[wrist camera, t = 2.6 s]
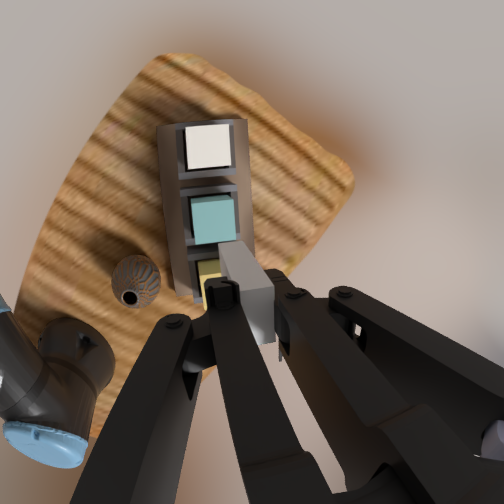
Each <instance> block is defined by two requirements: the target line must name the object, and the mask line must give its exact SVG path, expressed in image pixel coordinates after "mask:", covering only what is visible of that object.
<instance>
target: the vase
mask: <svg viewBox="0 0 504 504" xmlns="http://www.w3.org/2000/svg"><path fill="white" fill-rule="evenodd" d="M111 284H112V290H113V293H114V295H115V297H116V298H117V300H118V301H119V302H120V303H122V304H123V305H125V306H127V307H129V308H142V307H145V306H147V305H149V304H150V303H151V302H152V301H153V300H154V299H155V298H156V297H157V295H158V293H159V290H160V286H161V276H160V272H159V269H158V267H157V266H156V264H155V263H154V262H153V261H152V260H151V259H149V258H148V257H146V256H143V255H130V256H128V257H125V258H124V259H122V260H121V261H120V262H119V263H118V264H117V266H116V267H115V269H114V271H113V274H112V280H111Z"/></svg>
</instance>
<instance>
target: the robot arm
mask: <svg viewBox="0 0 504 504" xmlns="http://www.w3.org/2000/svg"><path fill="white" fill-rule="evenodd" d="M218 248H219V258H220V267H221V277H215V278H208V279H206V281H205V282H204V290H205V297H206V304H207V311H206V313H205V314H203V315H202V316H201V317H199V318H196V319H194V320H191V319H190V317H189V316H187V315H185V314H170V315H166V316H165V317H163V318H161V319H160V320H159V321H158V322H157V324H156V325H155V327H154V329H153V331H152V333H151V334H150V336H149V338H148V340H147V342H146V344H145V345H144V347H143V349H142V351H141V353H140V355H139V357H138V358H137V360H136V362H135V364H134V366H133V368H132V370H131V372H130V374H129V376H128V378H127V379H126V381H125V383H124V385H123V387H122V389H121V391H120V393H119V395H118V397H117V399H116V401H115V403H114V405H113V407H112V409H111V411H110V413H109V415H108V417H107V420H106V422H105V424H104V426H103V428H102V430H101V432H100V434H99V436H98V439H97V441H96V443H95V446H94V447H93V450H92V452H91V454H90V456H89V458H88V461H87V463H86V465H85V467H84V470H83V472H82V474H81V477H80V479H79V482H78V484H77V486H76V489H75V491H74V494H73V496H72V499H71V501H70V504H174V503H175V498H176V493H177V488H178V483H179V478H180V473H181V469H182V464H183V459H184V454H185V450H186V445H187V441H188V435H189V431H190V427H191V422H192V418H193V413H194V409H195V405H196V400H197V395H198V392H199V387H200V383H201V379H202V370H204V369H207V368H209V367H212V366H214V365H217V369H218V374H219V378H220V384H221V388H222V394H223V399H224V403H225V408H226V413H227V417H228V421H229V426H230V430H231V434H232V439H233V443H234V447H235V451H236V455H237V459H238V463H239V467H240V471H241V475H242V479H243V482H244V486H245V489H246V493H247V497H248V500H249V504H504V368H502V367H501V366H499V365H497V364H495V363H493V362H492V361H489V360H488V359H486V358H484V357H483V356H481V355H479V354H477V353H475V352H473V351H471V350H470V349H468V348H466V347H464V346H462V345H460V344H459V343H457V342H455V341H453V340H451V339H449V338H448V337H446V336H444V335H442V334H440V333H438V332H437V331H434V330H433V329H431V328H429V327H427V326H425V325H423V324H422V323H420V322H418V321H416V320H414V319H412V318H410V317H408V316H406V315H404V314H403V313H400V312H399V311H397V310H395V309H393V308H391V307H389V306H387V305H385V304H384V303H382V302H380V301H378V300H376V299H374V298H372V297H370V296H368V295H366V294H364V293H363V292H361V291H359V290H357V289H355V288H352V287H347V286H339V287H334V288H332V289H331V290H330V291H329V298H314V297H313V296H312V295H311V294H310V293H309V292H308V291H307V290H305V289H302V288H296V287H295V286H294V285H293V284H292V283H291V282H290V280H288V278H287V277H286V276H285V275H284V273H283V272H282V271H280V270H277V269H268V270H263V269H262V267H261V266H260V265H259V263H258V262H257V260H256V259H255V257H254V256H253V255H252V253H251V252H250V250H249V249H248V247H247V246H246V244H245V243H244V242H243V241H235V242H226V243H218ZM356 324H357V325H359V326H360V327H361V333H360V336H358V335H356V334H355V327H356ZM275 332H276V333H277V335H278V337H279V361H282V356H283V357H284V359H285V361H286V363H287V365H288V367H289V369H290V371H291V373H292V375H293V376H294V378H295V380H296V382H297V384H298V386H299V388H300V390H301V392H302V394H303V396H304V398H305V400H306V402H307V404H308V406H309V408H310V409H311V411H312V413H313V415H314V417H315V419H316V421H317V423H318V425H319V427H320V429H321V430H322V432H323V434H324V436H325V438H326V440H327V442H328V443H329V445H330V447H331V449H332V451H333V453H334V455H335V456H336V459H337V461H338V462H339V464H340V466H341V468H342V470H343V472H344V475H345V485H346V488H347V492H341V493H335V494H332V492H331V490H330V488H329V486H328V484H327V482H326V480H325V478H324V476H323V474H322V472H321V470H320V468H319V466H318V464H317V462H316V460H315V459H314V457H313V456H312V454H311V453H310V452H307V451H304V450H303V449H302V447H301V445H300V443H299V441H298V438H297V436H296V434H295V432H294V430H293V427H292V425H291V423H290V420H289V418H288V416H287V414H286V411H285V409H284V407H283V404H282V402H281V400H280V398H279V395H278V393H277V390H276V388H275V386H274V384H273V381H272V379H271V376H270V374H269V372H268V369H267V367H266V364H265V362H264V360H263V357H262V355H261V353H260V350H259V348H258V345H262V344H267V343H272V342H276V338H275ZM114 369H115V357H114V353H113V351H112V349H111V347H110V345H109V344H108V342H107V341H106V340H105V338H104V337H103V336H102V335H101V334H100V333H99V332H98V331H96V330H95V329H94V328H92V327H91V326H89V325H87V324H85V323H83V322H81V321H78V320H75V319H71V318H59V319H55V320H53V321H51V322H50V323H48V324H47V325H46V327H45V328H44V330H43V331H42V333H41V335H40V337H39V341H38V349H36V348H35V346H34V345H33V344H32V342H31V341H30V339H29V338H28V337H27V335H26V334H25V332H24V331H23V329H22V328H21V326H20V325H19V323H18V321H17V320H16V318H15V317H14V315H13V313H12V312H11V308H10V307H9V306H8V305H7V304H6V302H5V301H4V299H3V298H2V296H1V294H0V417H1V418H2V419H3V420H4V421H5V423H4V424H3V434H4V436H5V437H6V439H7V441H8V442H9V443H10V444H11V445H12V446H13V447H15V448H16V449H17V450H18V451H20V452H22V453H23V454H25V455H26V456H28V457H30V458H32V459H34V460H36V461H38V462H41V463H44V464H47V465H50V466H53V467H59V468H74V467H77V466H79V465H80V464H81V463H82V461H83V458H84V454H85V450H86V448H87V447H88V439H89V433H90V428H91V423H92V418H93V413H94V408H95V404H96V400H97V397H98V396H99V394H100V393H101V391H102V390H103V389H104V388H105V387H106V386H107V385H108V384H109V383H110V381H111V379H112V377H113V373H114ZM474 454H475V455H478V456H480V457H477V456H474Z"/></svg>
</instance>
